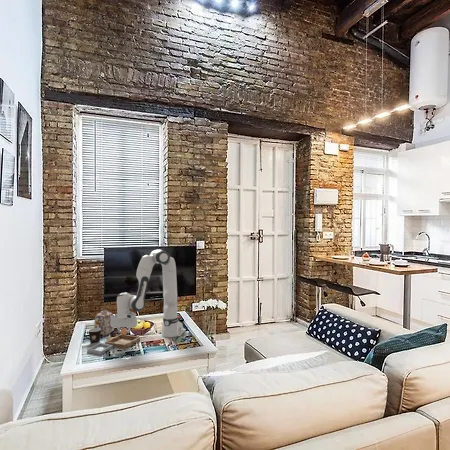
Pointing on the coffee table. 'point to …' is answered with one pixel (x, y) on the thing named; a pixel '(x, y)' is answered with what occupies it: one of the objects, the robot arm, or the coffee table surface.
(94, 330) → the coffee mug
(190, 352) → the coffee table surface
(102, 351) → the tray
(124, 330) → the ball
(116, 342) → the brown wooden tray
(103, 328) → the decorative jar
